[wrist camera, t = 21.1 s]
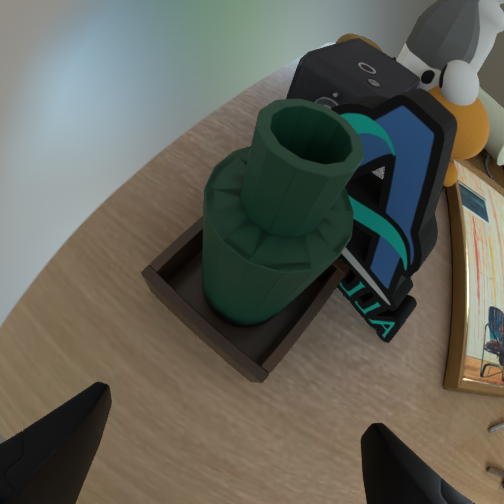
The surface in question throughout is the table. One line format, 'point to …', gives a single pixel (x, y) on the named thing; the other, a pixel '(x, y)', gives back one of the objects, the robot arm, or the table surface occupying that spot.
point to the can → (494, 127)
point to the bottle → (487, 29)
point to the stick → (495, 471)
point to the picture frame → (476, 283)
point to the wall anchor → (496, 427)
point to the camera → (349, 74)
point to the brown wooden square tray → (220, 332)
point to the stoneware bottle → (278, 211)
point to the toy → (459, 109)
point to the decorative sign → (394, 201)
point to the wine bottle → (442, 36)
